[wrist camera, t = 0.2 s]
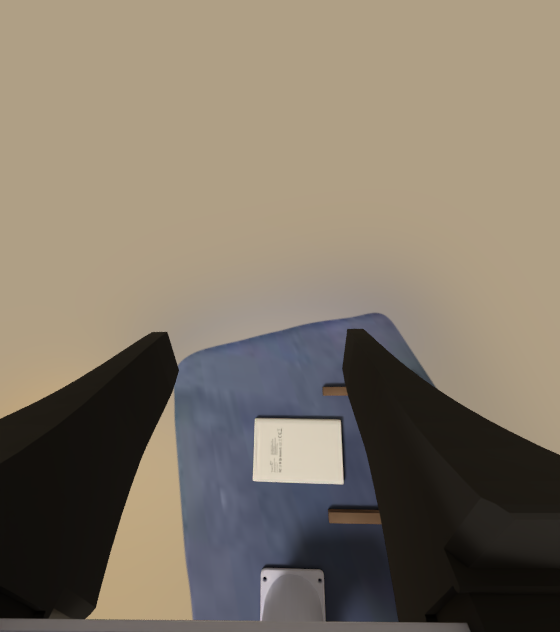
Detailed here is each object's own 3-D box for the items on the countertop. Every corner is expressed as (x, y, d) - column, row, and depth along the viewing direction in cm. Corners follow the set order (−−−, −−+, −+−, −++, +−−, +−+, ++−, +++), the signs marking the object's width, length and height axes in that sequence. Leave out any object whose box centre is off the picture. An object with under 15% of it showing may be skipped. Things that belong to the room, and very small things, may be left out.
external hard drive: (341, 481, 37) (254, 478, 37) (339, 418, 39) (256, 417, 40) (343, 485, 35) (252, 482, 36) (340, 420, 37) (254, 418, 38)
